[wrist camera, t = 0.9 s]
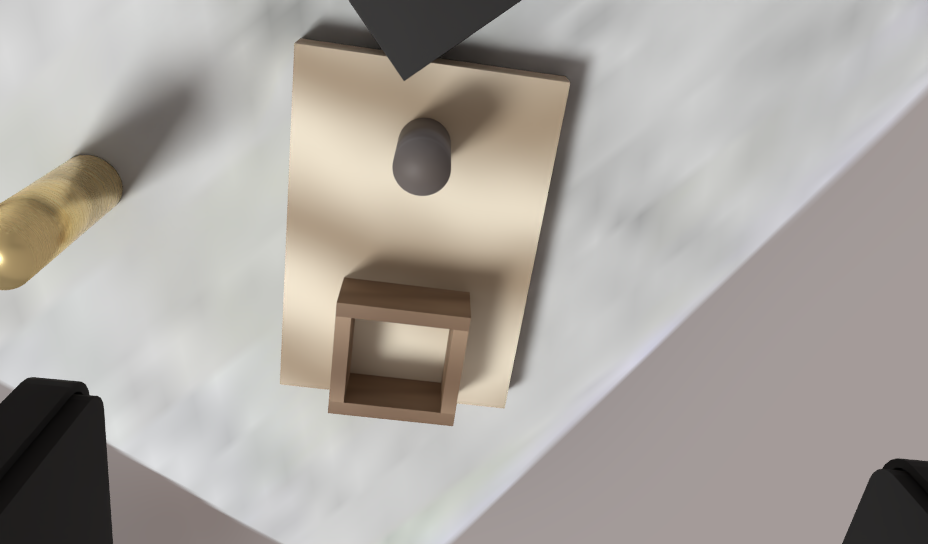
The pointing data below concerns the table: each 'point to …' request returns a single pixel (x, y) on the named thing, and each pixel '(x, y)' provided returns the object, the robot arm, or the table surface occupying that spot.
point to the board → (412, 228)
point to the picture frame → (424, 27)
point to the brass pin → (53, 215)
